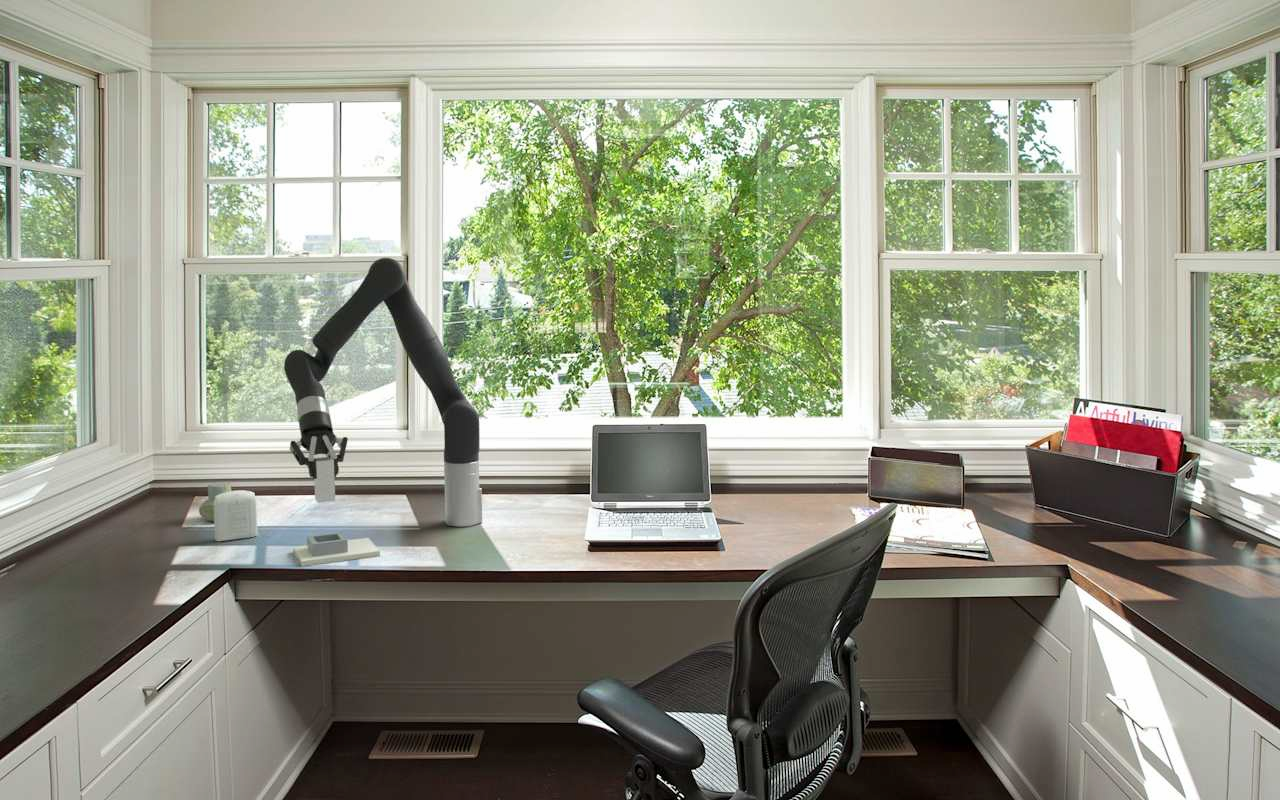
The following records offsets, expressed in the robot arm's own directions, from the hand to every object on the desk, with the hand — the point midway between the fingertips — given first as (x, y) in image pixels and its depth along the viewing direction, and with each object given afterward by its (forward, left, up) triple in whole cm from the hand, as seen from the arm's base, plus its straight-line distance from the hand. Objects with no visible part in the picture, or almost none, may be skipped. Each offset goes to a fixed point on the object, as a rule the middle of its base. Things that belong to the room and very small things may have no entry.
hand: (325, 475), depth 230 cm
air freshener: (+20, -49, -20) cm, 56 cm away
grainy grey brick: (0, -1, -6) cm, 6 cm away
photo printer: (+18, -27, -20) cm, 38 cm away
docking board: (-2, -1, -20) cm, 20 cm away
